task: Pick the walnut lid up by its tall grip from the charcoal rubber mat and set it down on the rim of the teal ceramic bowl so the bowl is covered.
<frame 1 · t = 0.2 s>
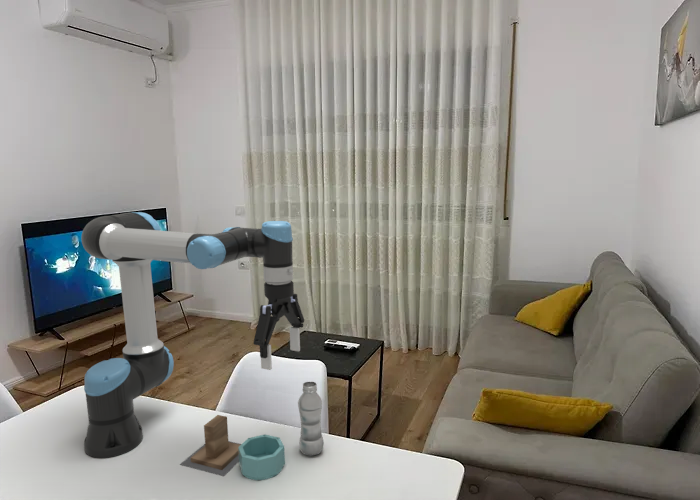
hand: (281, 359, 132), 27 cm above the table, fingers open, 13 cm apart
plastic bottle: (311, 452, 137), on the table
mat: (217, 456, 135), on the table
bowl: (262, 467, 130), on the table
cover lid: (217, 455, 135), resting on mat
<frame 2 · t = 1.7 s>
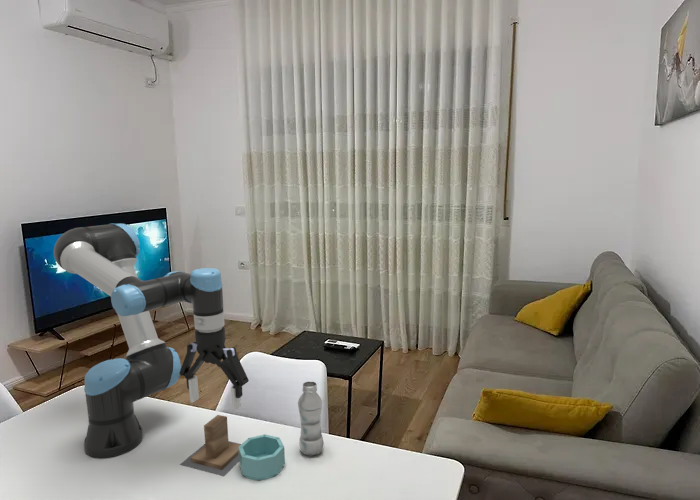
hand: (215, 404, 132), 15 cm above the table, fingers open, 13 cm apart
nothing on the table moved.
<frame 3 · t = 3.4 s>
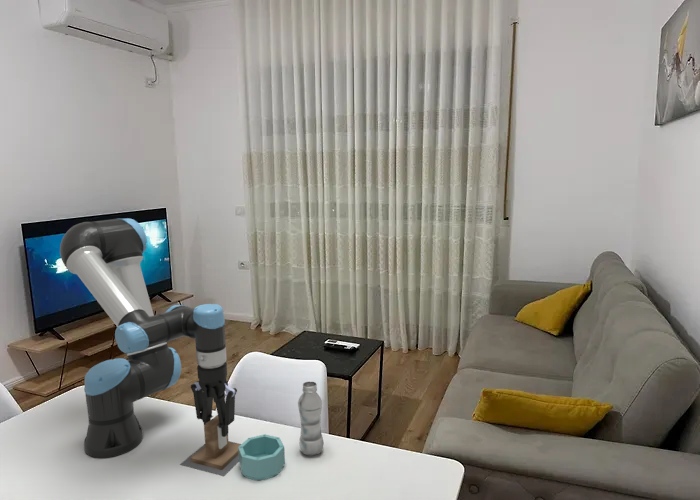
hand: (217, 444, 135), 4 cm above the table, fingers closed on cover lid, 3 cm apart
cover lid: (217, 455, 135), resting on mat, touching gripper
everything else where it was.
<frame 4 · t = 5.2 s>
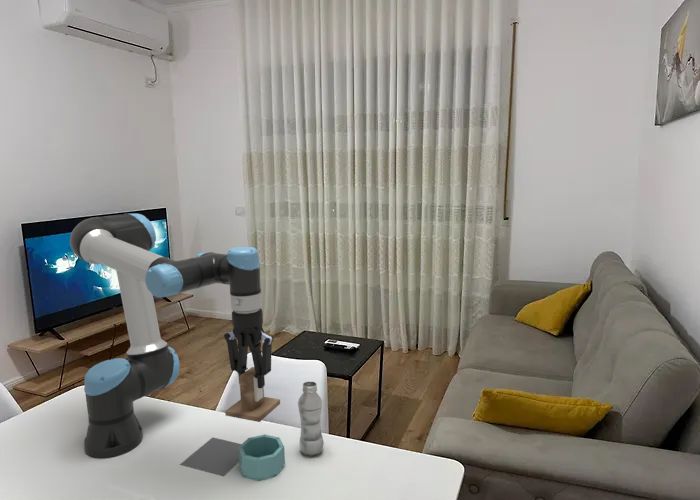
hand: (252, 397, 127), 19 cm above the table, fingers closed on cover lid, 3 cm apart
cover lid: (253, 409, 128), point 16 cm above the table, touching gripper
everything else where it was.
when the fingers open (11 cm above the table, at t = 7.0 s): cover lid drops 1 cm, resting on bowl.
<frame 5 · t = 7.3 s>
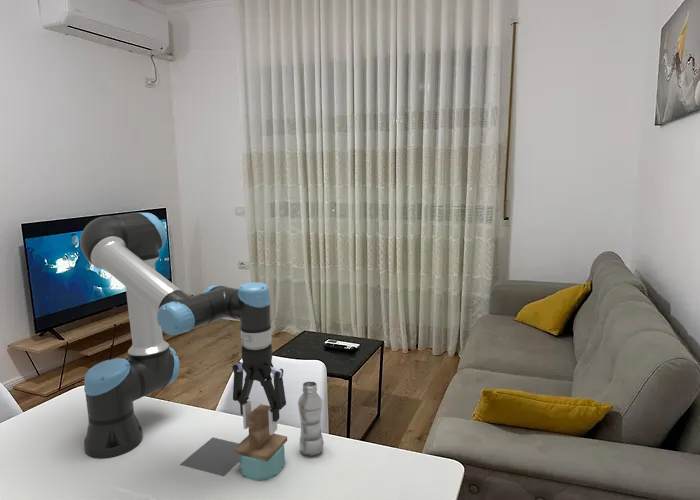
hand: (260, 428, 128), 11 cm above the table, fingers open, 7 cm apart
cover lid: (261, 446, 129), point 6 cm above the table, touching bowl
everything else where it was.
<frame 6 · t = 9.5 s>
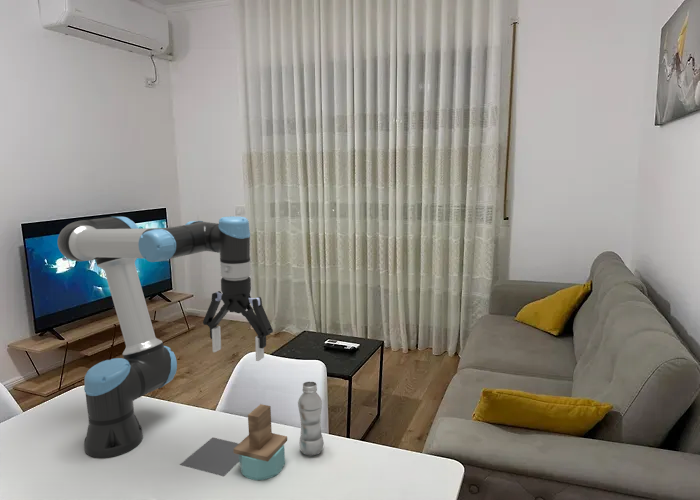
hand: (238, 354, 132), 29 cm above the table, fingers open, 13 cm apart
nothing on the table moved.
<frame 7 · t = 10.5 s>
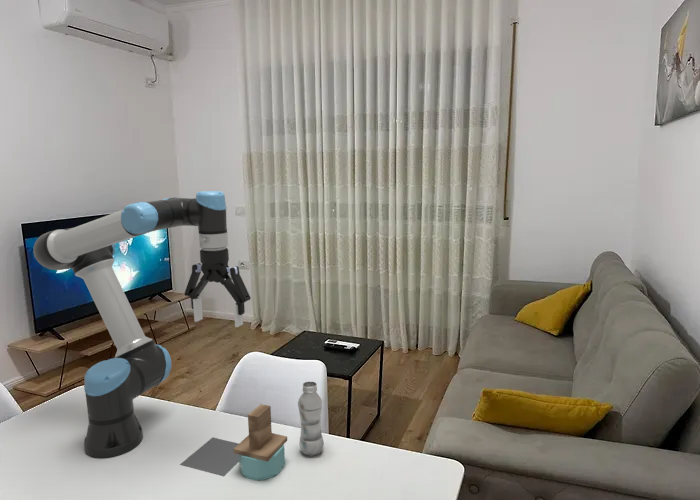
hand: (218, 323, 139), 35 cm above the table, fingers open, 13 cm apart
nothing on the table moved.
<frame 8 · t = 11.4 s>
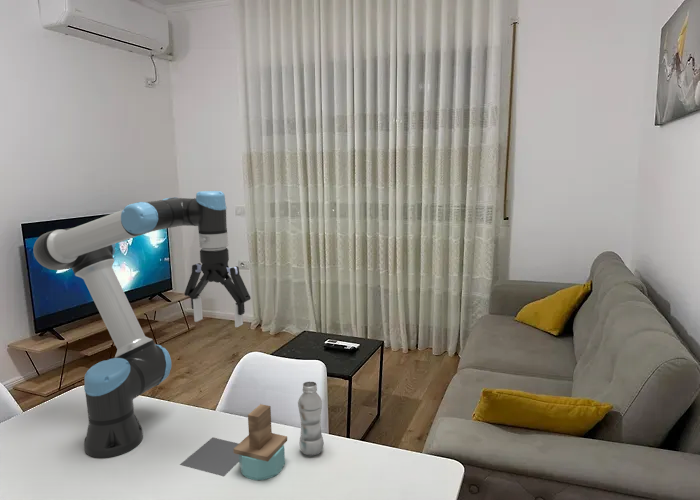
hand: (218, 323, 139), 35 cm above the table, fingers open, 13 cm apart
nothing on the table moved.
at the end: cover lid 0.1 cm off-centre on the bowl, point 6.0 cm above the bowl's base; cover lid tilted 0°; the gripper is holding nothing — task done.
